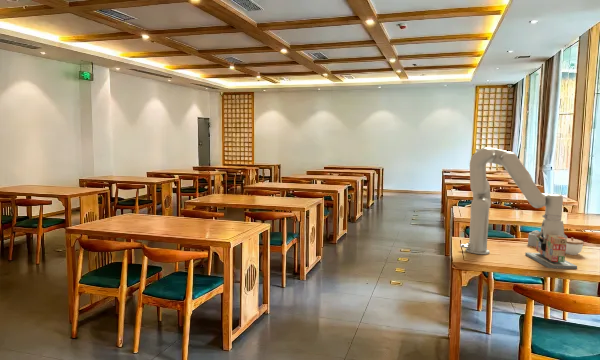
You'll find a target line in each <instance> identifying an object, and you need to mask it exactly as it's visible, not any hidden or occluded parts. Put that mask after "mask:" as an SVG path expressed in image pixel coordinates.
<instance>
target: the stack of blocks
mask: <svg viewBox="0 0 600 360" xmlns="http://www.w3.org/2000/svg"><path fill="white" fill-rule="evenodd" d="M540 238H541V239H542V237H541V236H540ZM566 242H567V239H566V238H564V237H563V236H560V235H548V239H547V241H546V242H545V244H546V251H543V250H541V242H540V241H539V240H538V238H537V243H536V247H535V252H537V253H540V254H542V255H543V256H545V257H546V258H548V259H549V260H550V261H554V262H564V261H565V260H566V253H565V251H566Z"/></svg>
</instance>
